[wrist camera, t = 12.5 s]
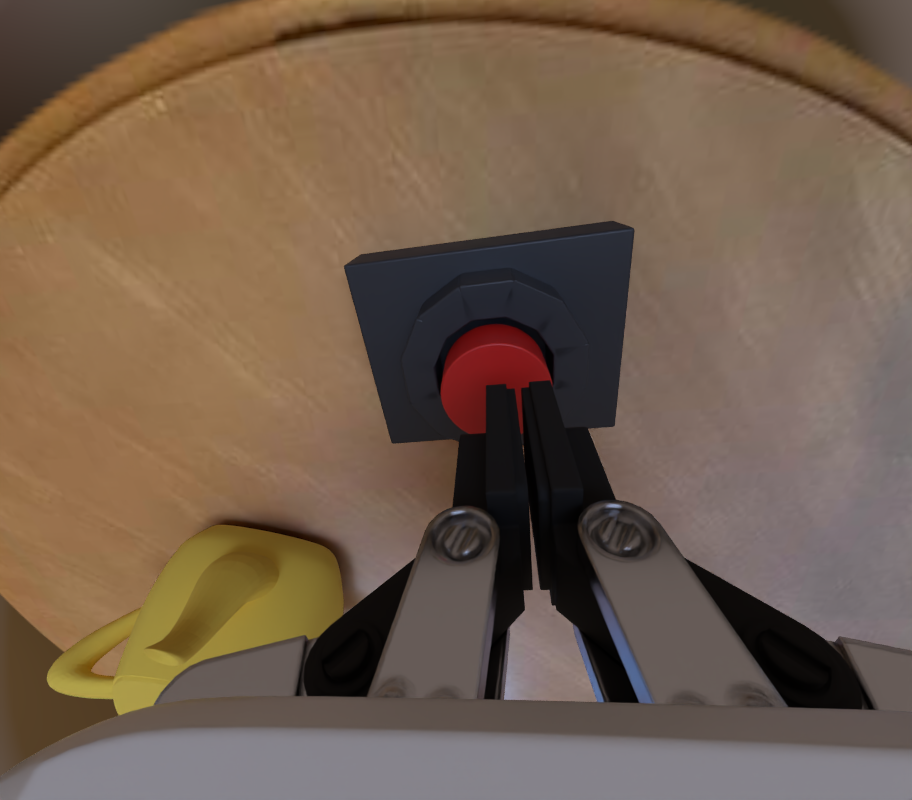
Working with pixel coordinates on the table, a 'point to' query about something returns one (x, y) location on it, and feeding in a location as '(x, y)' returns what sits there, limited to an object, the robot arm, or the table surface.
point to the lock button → (488, 372)
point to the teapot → (208, 612)
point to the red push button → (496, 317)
